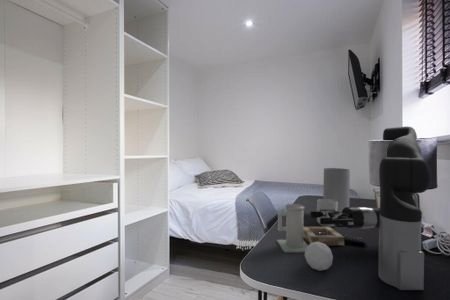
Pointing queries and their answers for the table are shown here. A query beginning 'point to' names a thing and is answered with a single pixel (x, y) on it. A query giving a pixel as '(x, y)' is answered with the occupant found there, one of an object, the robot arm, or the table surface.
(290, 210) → the jug
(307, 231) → the stand
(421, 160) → the robot arm
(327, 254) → the geometric ball
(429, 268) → the table surface
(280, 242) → the mat
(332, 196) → the cylinder vase
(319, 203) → the mug
